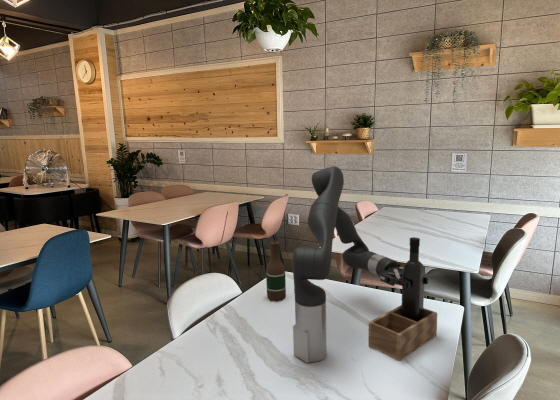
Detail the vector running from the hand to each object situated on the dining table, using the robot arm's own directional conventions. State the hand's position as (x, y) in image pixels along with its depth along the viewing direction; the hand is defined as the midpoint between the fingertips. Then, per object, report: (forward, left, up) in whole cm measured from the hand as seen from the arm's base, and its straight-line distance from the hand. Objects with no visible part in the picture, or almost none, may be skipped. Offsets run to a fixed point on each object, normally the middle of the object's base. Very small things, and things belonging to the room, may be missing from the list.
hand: (418, 283), depth 120 cm
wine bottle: (+1, +2, -16) cm, 16 cm away
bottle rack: (-4, +2, -19) cm, 19 cm away
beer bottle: (-13, +56, -19) cm, 60 cm away
